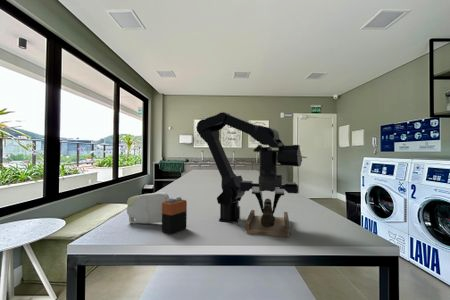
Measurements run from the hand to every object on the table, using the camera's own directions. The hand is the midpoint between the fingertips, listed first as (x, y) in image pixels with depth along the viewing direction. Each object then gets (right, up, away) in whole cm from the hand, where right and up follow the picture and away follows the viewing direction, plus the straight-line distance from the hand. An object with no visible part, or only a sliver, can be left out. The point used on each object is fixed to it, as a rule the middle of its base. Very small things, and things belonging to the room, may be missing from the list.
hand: (267, 212), depth 75 cm
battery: (-30, -5, -4) cm, 31 cm away
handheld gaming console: (-40, -5, +2) cm, 40 cm away
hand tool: (-1, -2, 0) cm, 2 cm away
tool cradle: (0, -4, 0) cm, 4 cm away
